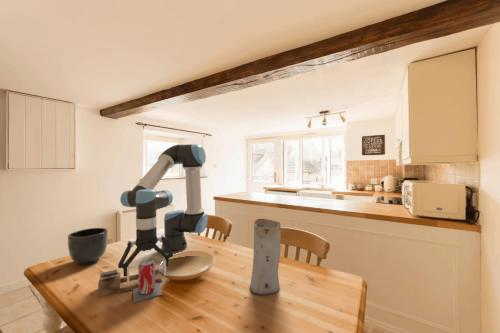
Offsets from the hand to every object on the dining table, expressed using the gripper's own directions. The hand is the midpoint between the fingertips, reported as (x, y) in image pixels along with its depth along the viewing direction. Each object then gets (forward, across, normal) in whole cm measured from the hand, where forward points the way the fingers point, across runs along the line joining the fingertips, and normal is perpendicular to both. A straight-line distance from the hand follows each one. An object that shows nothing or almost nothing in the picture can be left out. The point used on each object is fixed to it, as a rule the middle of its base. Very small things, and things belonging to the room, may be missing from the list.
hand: (147, 278), depth 89 cm
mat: (+5, 0, 0) cm, 6 cm away
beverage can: (+5, 0, 0) cm, 5 cm away
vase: (+6, -43, +23) cm, 49 cm away
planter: (+6, +25, -47) cm, 54 cm away
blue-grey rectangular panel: (-1, +13, -10) cm, 17 cm away
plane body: (+6, +6, -10) cm, 13 cm away
